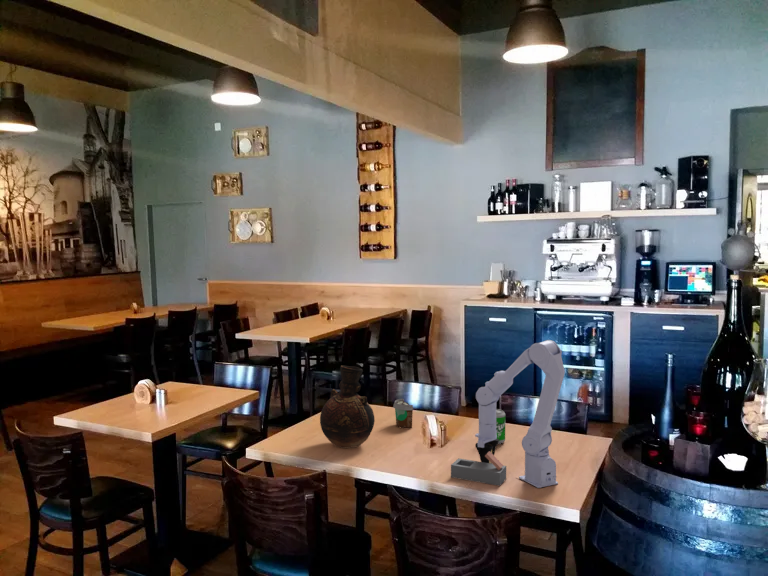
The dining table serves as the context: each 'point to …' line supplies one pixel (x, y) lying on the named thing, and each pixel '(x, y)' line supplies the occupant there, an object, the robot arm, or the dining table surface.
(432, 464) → the dining table surface
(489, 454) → the bar
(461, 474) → the block
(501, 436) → the soda can
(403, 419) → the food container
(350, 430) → the ceramic vessel
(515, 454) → the dining table surface
